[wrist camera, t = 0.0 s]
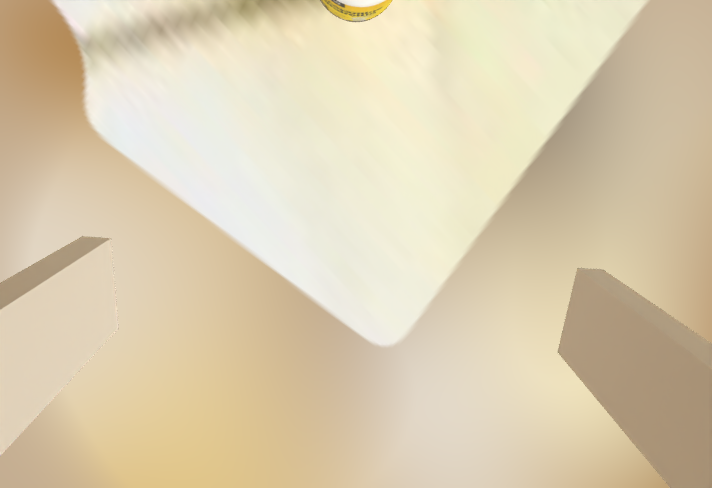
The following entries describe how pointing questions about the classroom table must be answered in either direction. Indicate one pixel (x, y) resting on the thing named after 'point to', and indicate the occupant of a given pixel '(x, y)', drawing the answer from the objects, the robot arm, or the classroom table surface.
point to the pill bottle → (356, 8)
